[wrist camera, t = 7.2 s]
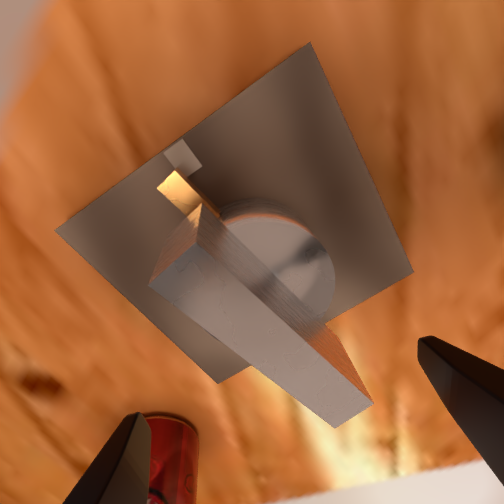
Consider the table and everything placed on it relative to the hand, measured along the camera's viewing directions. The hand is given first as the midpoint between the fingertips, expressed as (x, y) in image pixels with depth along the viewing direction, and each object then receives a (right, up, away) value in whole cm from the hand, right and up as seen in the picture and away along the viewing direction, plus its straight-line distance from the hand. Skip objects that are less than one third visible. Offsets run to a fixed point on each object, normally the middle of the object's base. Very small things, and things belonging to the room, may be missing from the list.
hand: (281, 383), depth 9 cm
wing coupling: (-1, +4, +8) cm, 9 cm away
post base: (-1, +5, +10) cm, 11 cm away
